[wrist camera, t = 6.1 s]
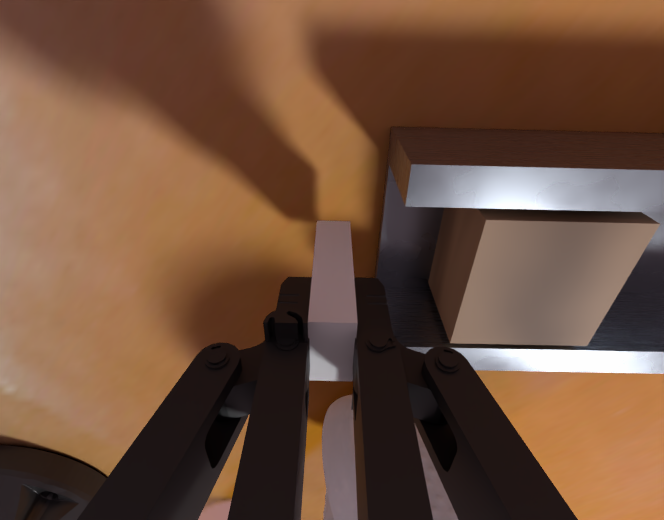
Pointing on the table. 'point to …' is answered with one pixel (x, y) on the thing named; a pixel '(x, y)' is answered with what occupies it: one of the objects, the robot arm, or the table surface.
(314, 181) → the table surface
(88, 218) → the table surface
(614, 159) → the chute
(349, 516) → the mug
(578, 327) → the block
